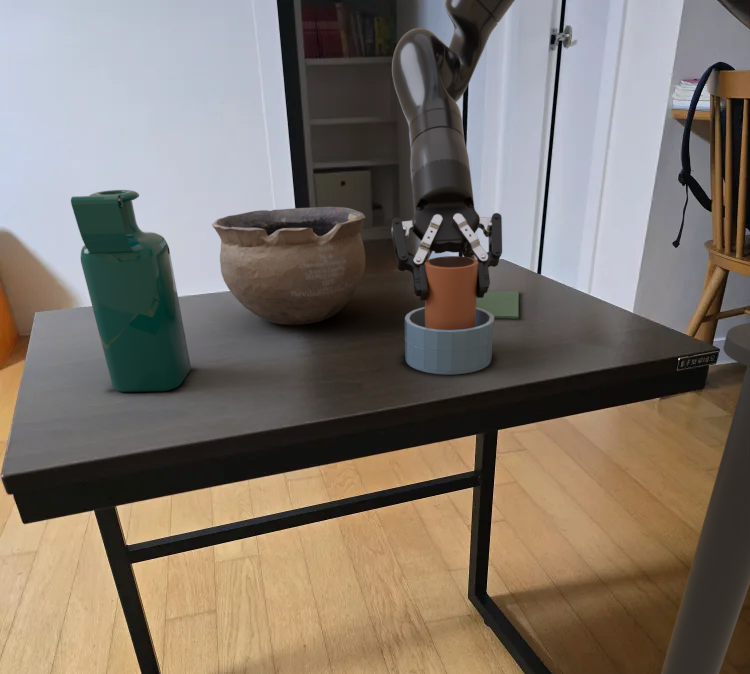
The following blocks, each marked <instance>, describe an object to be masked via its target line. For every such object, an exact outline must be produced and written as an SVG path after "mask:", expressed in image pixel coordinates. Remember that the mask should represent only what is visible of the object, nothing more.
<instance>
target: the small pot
mask: <svg viewBox="0 0 750 674" xmlns="http://www.w3.org/2000/svg"><path fill="white" fill-rule="evenodd" d="M425 268H426V277H427V288H428V295H427V300H424V307H425V328H430V329H438V330H461V329H469V328H474V327H475V321H476V299H477V277H478V261H477V260H476V259H473V258H469V257H464V256H463V255H462V256H460V255H445V256H437V257H432V258H429V260H427V261H426V262H425Z"/></svg>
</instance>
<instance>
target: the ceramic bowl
mask: <svg viewBox="0 0 750 674" xmlns="http://www.w3.org/2000/svg"><path fill="white" fill-rule="evenodd" d="M365 219H366V216H365V214H364V213H363V212H361V211H359V210H355V209H353V208H351V207H350V208H349V207H341V206H321V207H317V206H316V207H295V208H283V209H281V208H280V209H272V210H268V209H259V210H252V211H248V212H242V213H237V214H232V215H228V216H227V215H226V216H225V217H220V218H216V220H215V221H214V222H213V223H212V224H211V226H212V228H213V229H214V230H215V232H216V233H217V235H218V237H219V238H220V252H219V265H220V273H221V276H222V279H223V282H224V283H225V285H226V287H227V288H228V290H229V291H230V293H231V295H232V296H233V297H234V298H235V299H236V300H237V301H238V302H239V303H240V304H241V305H242V306H243V307H244V308H245V309H246V310H248V311H249V312H251V313H253V315H255V316H257V317H258V318H260V319H261V320H264V321H265V322H268V323H272V324H273V323H274V324H278V325H287V326H288V325H290V326H292V325H293V326H297V325H298V326H300V325H309V324H315V323H319V322H323V321H325V320H328V319H330V318H332V317H333V316H335V315H337V313H339V312H340V311H341V310H342V309H343V308H344V307H345V306H346V304H347V303H348V302H349V301H350V299H352V297H353V295H354V294H355V292H356V290H357V288H358V286H359V284H360V282H361V280H362V279H363V277H364V276H363V275H364V272H365V268H366V251H365V247H364V242H363V239H362V235H361V231H362V230H363V226H364V224H365V223H364V222H365Z"/></svg>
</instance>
